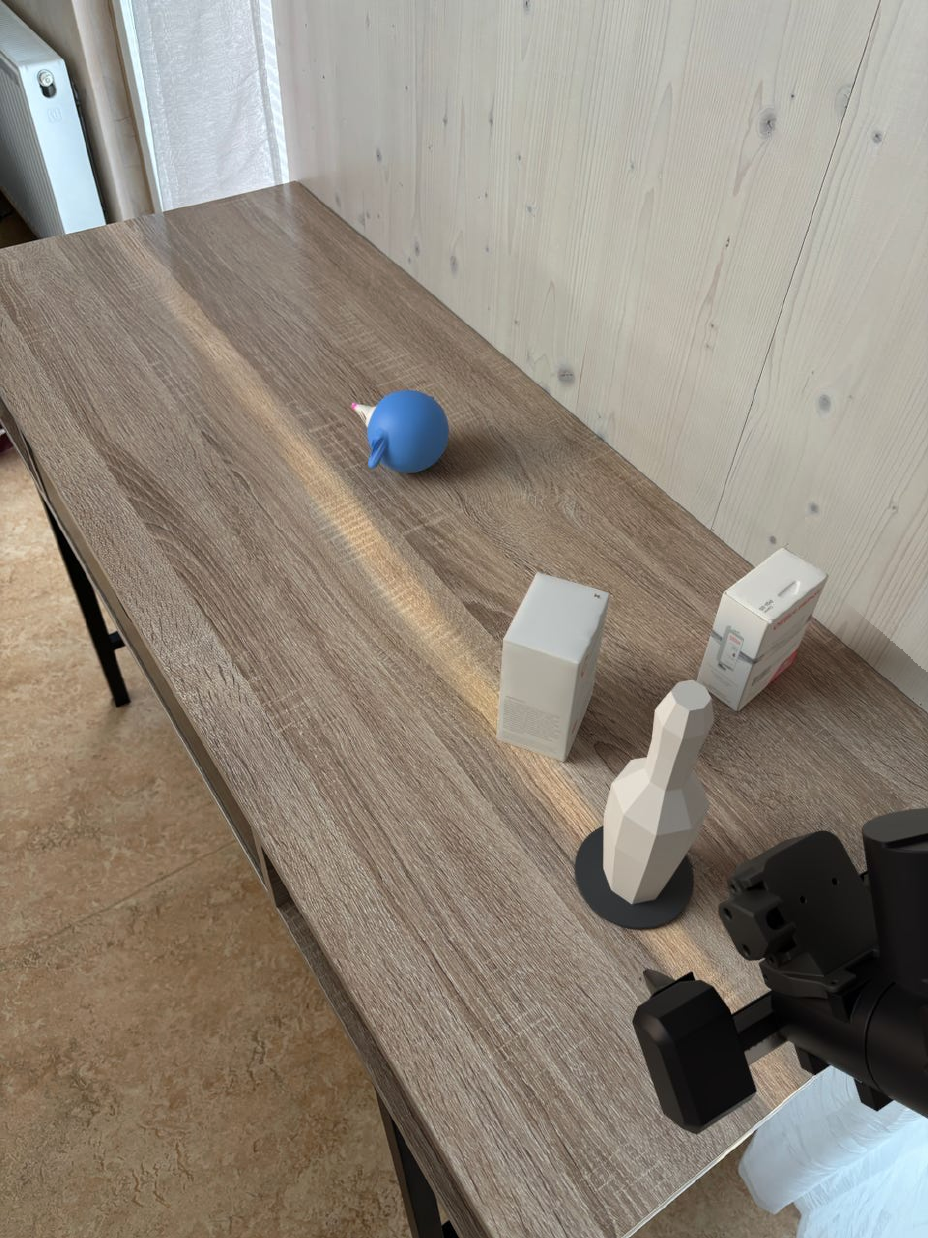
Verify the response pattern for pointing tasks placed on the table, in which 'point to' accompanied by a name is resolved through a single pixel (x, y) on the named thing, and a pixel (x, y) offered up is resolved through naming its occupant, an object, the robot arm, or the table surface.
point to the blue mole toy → (405, 431)
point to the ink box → (760, 627)
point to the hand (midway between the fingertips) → (710, 941)
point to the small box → (550, 665)
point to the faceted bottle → (658, 799)
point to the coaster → (617, 908)
